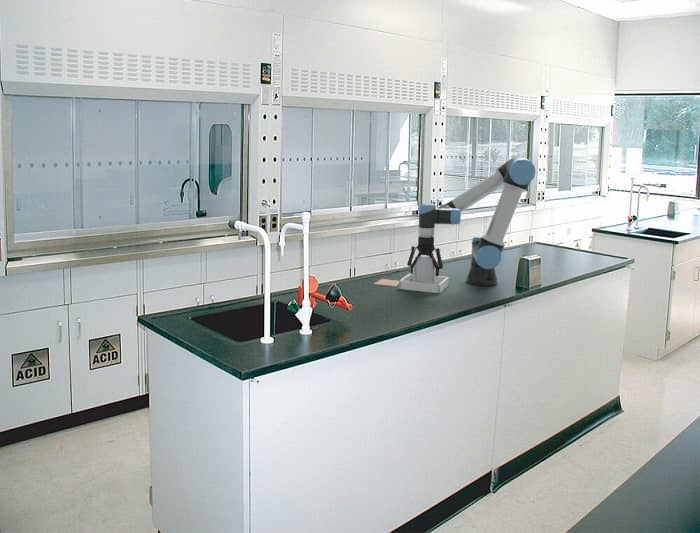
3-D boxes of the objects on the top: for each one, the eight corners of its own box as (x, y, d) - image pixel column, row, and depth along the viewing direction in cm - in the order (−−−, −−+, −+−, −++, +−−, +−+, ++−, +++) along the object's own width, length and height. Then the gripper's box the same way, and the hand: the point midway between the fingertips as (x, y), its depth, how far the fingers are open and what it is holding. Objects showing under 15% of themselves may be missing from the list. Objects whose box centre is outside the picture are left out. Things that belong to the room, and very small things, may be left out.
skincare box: (434, 288, 334) (435, 257, 331) (424, 289, 331) (426, 259, 327) (423, 284, 341) (424, 254, 338) (413, 285, 337) (414, 255, 334)
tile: (402, 282, 344) (402, 281, 344) (395, 287, 334) (395, 285, 334) (381, 280, 348) (381, 278, 348) (374, 284, 338) (374, 283, 338)
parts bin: (448, 285, 340) (449, 277, 339) (439, 293, 324) (439, 285, 323) (409, 280, 347) (410, 273, 347) (398, 288, 331) (399, 280, 330)
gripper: (451, 236, 330) (449, 282, 334) (406, 233, 338) (404, 277, 342) (447, 239, 323) (445, 285, 328) (401, 235, 331) (399, 280, 336)
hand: (424, 281), depth 335 cm, fingers closed on skincare box, 10 cm apart
